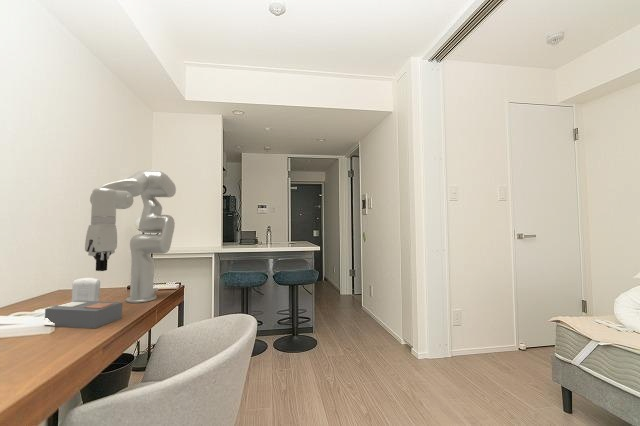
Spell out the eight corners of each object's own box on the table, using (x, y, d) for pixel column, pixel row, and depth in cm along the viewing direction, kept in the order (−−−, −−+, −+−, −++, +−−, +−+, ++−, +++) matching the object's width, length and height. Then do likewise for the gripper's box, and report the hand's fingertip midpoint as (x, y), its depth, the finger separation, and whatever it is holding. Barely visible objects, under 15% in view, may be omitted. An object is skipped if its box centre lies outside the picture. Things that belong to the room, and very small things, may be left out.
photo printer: (101, 304, 133) (102, 277, 134) (95, 307, 129) (96, 278, 130) (75, 305, 132) (77, 277, 133) (69, 307, 128) (70, 278, 128)
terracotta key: (98, 314, 113) (98, 302, 113) (112, 315, 112) (113, 303, 112) (84, 319, 107) (84, 307, 107) (99, 320, 106) (100, 307, 106)
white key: (71, 313, 114) (72, 301, 114) (86, 314, 113) (86, 302, 113) (56, 318, 108) (57, 305, 108) (71, 319, 107) (72, 306, 107)
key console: (75, 315, 117) (76, 300, 117) (121, 318, 115) (122, 302, 115) (44, 325, 105) (45, 308, 105) (95, 328, 103) (96, 311, 103)
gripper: (110, 221, 119) (108, 267, 118) (76, 221, 104) (73, 273, 103) (127, 221, 118) (125, 268, 118) (95, 221, 103) (93, 274, 103)
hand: (101, 270), depth 110 cm, fingers closed
